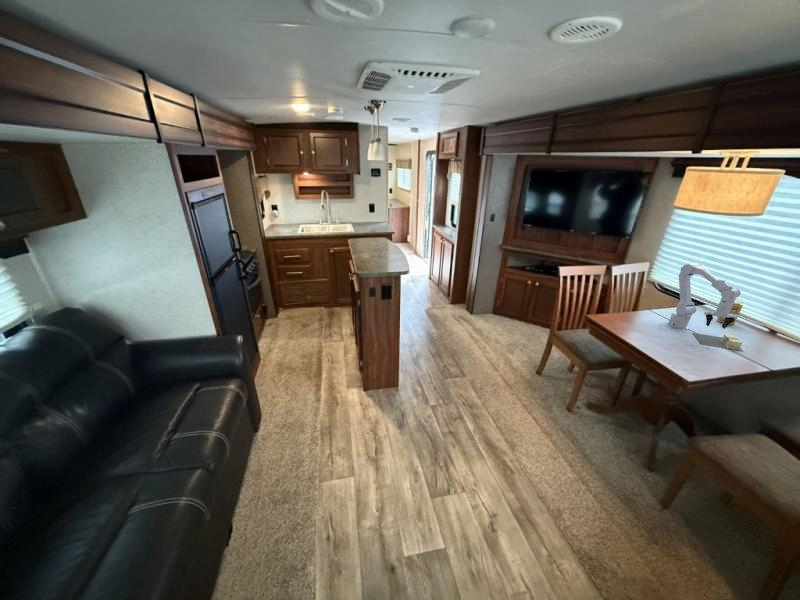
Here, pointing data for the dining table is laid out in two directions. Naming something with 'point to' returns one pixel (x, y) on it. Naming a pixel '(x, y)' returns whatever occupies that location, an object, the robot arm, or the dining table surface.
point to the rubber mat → (712, 341)
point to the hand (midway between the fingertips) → (715, 326)
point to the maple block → (731, 341)
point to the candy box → (732, 312)
